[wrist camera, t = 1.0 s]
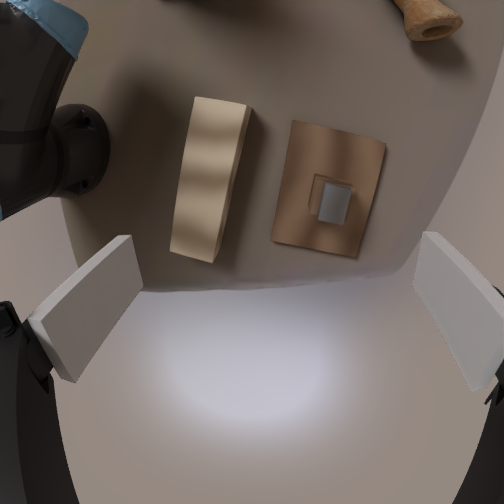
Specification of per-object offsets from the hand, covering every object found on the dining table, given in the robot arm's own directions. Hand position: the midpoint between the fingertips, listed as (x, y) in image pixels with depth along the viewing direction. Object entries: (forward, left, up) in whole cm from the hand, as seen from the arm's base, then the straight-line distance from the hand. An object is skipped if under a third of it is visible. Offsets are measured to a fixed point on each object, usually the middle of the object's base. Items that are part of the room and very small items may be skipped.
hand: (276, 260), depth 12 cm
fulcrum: (+6, -2, -26) cm, 27 cm away
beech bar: (-9, -3, -27) cm, 28 cm away
